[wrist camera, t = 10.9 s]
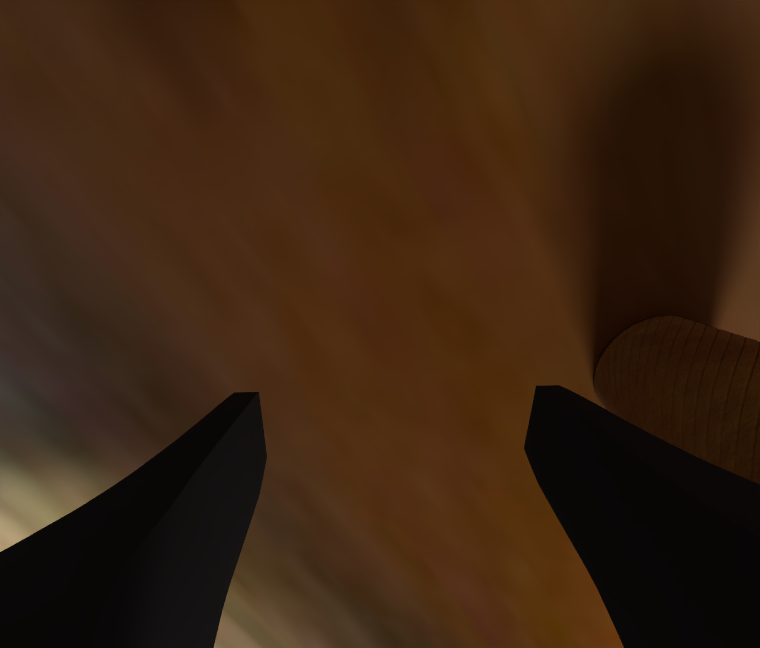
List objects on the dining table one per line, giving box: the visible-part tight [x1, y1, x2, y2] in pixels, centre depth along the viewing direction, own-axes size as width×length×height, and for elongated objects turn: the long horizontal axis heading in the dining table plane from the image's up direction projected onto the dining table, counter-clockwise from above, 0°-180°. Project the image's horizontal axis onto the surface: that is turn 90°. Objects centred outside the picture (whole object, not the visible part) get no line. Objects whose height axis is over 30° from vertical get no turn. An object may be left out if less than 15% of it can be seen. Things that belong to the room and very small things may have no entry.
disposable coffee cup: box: [594, 316, 760, 484], centre depth 16 cm, size 10×10×12 cm
